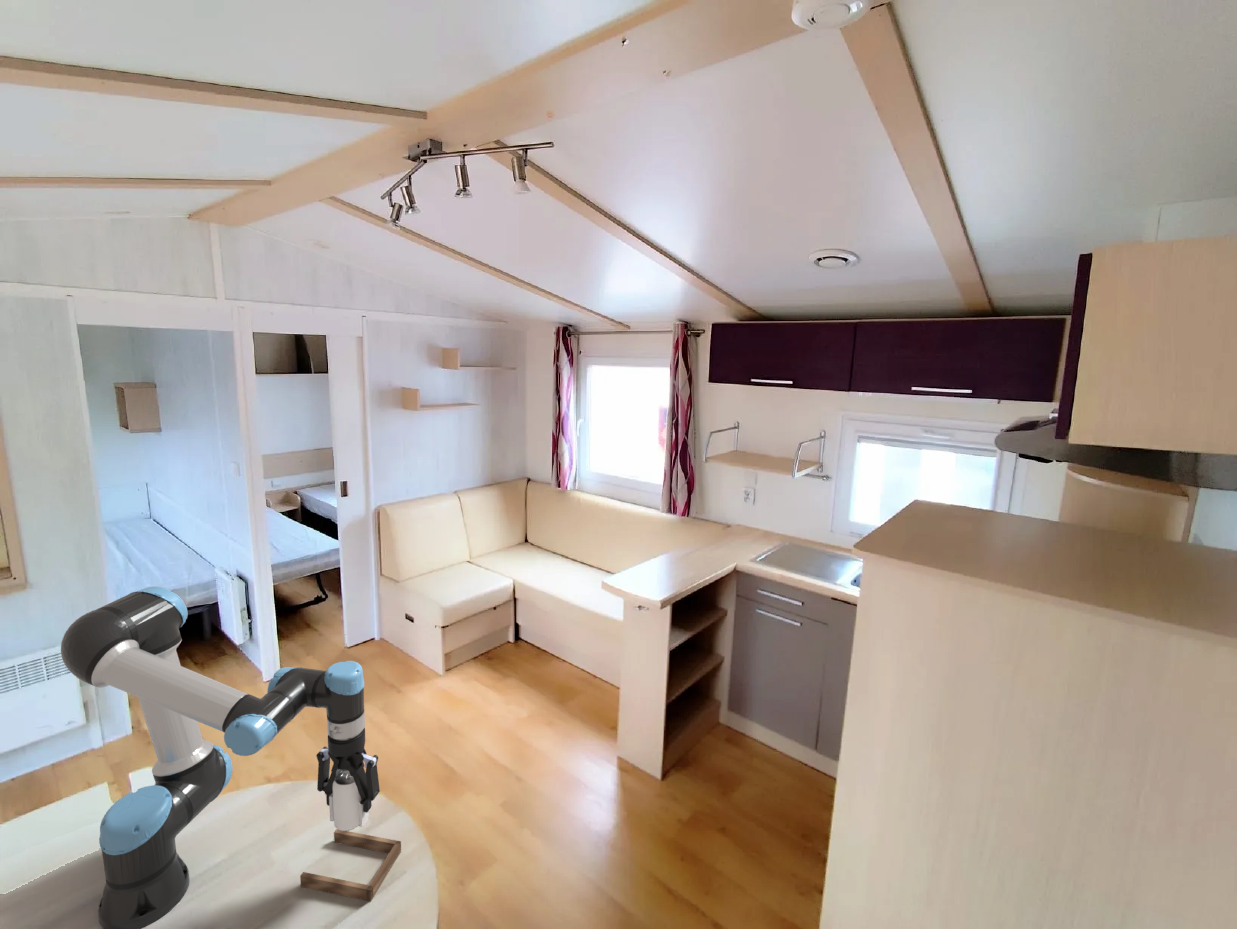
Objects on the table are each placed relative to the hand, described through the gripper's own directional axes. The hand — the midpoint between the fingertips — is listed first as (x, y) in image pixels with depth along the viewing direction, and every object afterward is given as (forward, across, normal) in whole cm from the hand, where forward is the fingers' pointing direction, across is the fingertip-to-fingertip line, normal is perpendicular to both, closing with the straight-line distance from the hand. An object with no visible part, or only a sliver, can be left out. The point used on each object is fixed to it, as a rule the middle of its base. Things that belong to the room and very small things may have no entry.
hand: (349, 818), depth 131 cm
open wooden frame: (+14, 0, 0) cm, 14 cm away
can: (+1, 0, 0) cm, 1 cm away
